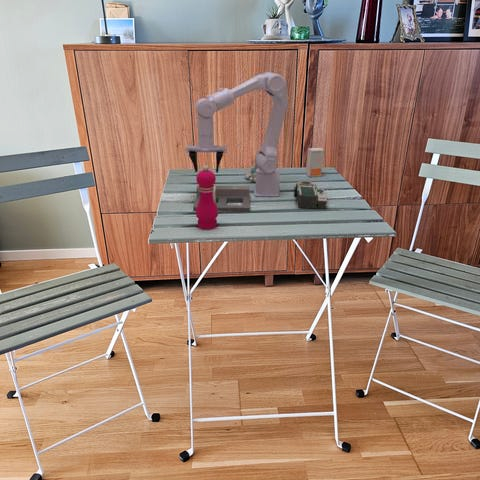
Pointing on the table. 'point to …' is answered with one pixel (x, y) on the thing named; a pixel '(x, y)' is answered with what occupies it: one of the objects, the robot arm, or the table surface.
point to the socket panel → (229, 198)
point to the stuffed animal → (251, 174)
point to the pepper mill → (206, 200)
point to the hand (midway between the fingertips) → (206, 171)
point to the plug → (214, 194)
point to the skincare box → (314, 162)
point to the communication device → (309, 195)
